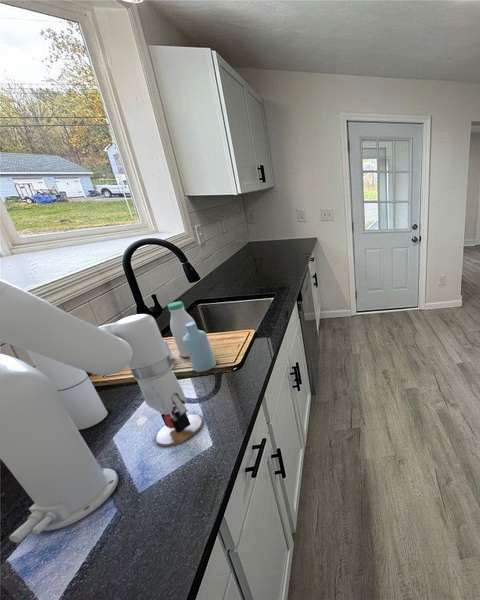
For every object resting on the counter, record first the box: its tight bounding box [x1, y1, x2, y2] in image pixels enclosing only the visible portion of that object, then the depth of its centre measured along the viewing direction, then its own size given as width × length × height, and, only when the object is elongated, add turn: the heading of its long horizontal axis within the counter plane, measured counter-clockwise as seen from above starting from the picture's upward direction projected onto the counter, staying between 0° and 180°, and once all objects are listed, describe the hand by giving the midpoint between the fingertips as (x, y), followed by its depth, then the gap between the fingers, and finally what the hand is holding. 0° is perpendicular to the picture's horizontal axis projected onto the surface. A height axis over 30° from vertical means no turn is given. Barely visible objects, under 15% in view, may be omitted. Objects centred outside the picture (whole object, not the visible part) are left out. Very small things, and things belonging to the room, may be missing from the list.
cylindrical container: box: [25, 349, 109, 431], centre depth 82 cm, size 7×7×25 cm
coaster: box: [155, 414, 203, 447], centre depth 81 cm, size 10×10×1 cm
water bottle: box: [183, 322, 217, 373], centre depth 105 cm, size 7×7×16 cm
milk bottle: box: [167, 301, 196, 358], centre depth 114 cm, size 8×8×20 cm
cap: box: [164, 409, 178, 429], centre depth 79 cm, size 4×4×3 cm
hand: (178, 425), depth 80 cm, fingers closed on cap, 3 cm apart
